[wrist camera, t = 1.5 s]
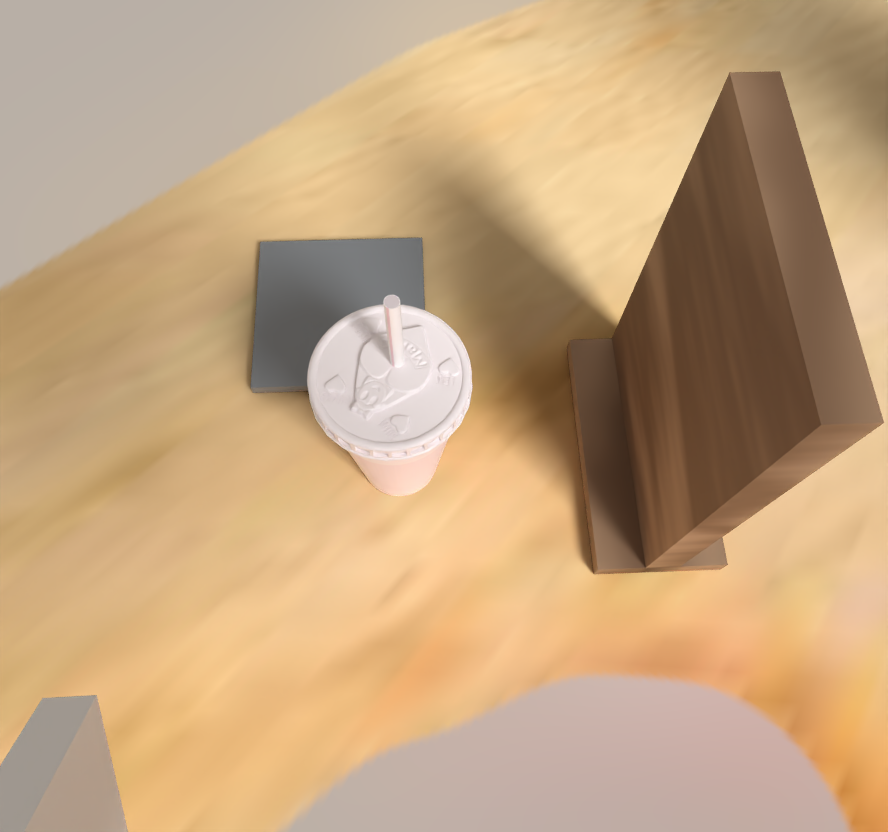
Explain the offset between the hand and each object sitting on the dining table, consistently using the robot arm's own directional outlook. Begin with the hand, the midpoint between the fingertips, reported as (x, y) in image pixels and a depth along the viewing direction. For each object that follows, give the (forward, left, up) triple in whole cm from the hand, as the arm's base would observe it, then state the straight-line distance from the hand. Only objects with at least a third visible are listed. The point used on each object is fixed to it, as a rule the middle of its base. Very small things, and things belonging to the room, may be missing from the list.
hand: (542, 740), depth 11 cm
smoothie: (+3, -13, -23) cm, 26 cm away
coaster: (+6, -21, -23) cm, 32 cm away
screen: (-9, -13, -23) cm, 28 cm away
